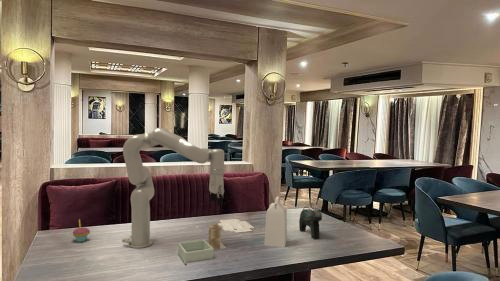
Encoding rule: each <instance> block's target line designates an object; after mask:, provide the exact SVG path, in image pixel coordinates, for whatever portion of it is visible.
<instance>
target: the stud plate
mask: <svg viewBox="0 0 500 281" xmlns="http://www.w3.org/2000/svg"><path fill="white" fill-rule="evenodd" d="M213 249H214V250H221V249H222V250H223V249H227V246H225V245H224V244H223V243H222V242H220V247H216V248H213Z"/></svg>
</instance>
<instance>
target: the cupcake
mask: <svg viewBox="0 0 500 281" xmlns="http://www.w3.org/2000/svg"><path fill="white" fill-rule="evenodd" d="M78 226H79V227H77V228H75V229H73V231H72V236H73V237H74V238H75V241H76V242H79V243H81V242H82V243H83V242H85V241H86V240H87V238H88V235H90V233H91V230H90V229H89V228H87V227H82V224H81V219H78Z"/></svg>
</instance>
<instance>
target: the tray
mask: <svg viewBox="0 0 500 281" xmlns="http://www.w3.org/2000/svg"><path fill="white" fill-rule="evenodd" d="M216 224H218V225H219V226H220V227H221V230H223V232H227V231H229V232H234V233H245V232H253V230H252V229H254V228H255V227H254V226H253V225H252V224H250V223H249V222H248V221H246V220H240V219H238V218H234V219H219V222H218V223H216ZM250 228H251V229H250ZM234 229H237V230H234Z"/></svg>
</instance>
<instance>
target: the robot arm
mask: <svg viewBox="0 0 500 281" xmlns="http://www.w3.org/2000/svg"><path fill="white" fill-rule="evenodd" d="M159 145H160V146H162V147H165V148H167V149H168V150H171V151H173V152H176V153H177V154H179V155H181V156H182V157H185V158H186V159H189V160H191V161H193V162H195V163H198V164H205V163H207V162H209V183H208V185H209V186H208V191H209V192H210V193H209V194H210V197H209V198H210V201H209V202H216V205H217V206H223V205H224V196H225V195H224V193H225V188H224V184H225V183H224V181H225V180H224V174H225V151H224V150H223V149H221V148H214V149H213V148H212V149H211V148H205V147H204V148H200V147H198V146H196V145H194V144H192V143H191V142H189V141H187V140H186V139H185V138H184V137H182V136H180V135H178V134H176V133H173V132H171V131H170V130H168V128H165V127H156V128H154V129H153V130H151V131H148V132H145V133H141V134H134V135H132V136H130V137H128V138H127V139H126V140H125V142H124V144H123V147H122V154H123V159H124V163H125V167H126V174H127V178H128V181H129V183H130V184H132V185H134V186H136V188H134V189H133V191H132V192H131V195H130V206H131V231H130V232H131V235H129V236H128V237H125V238H123V237H122V239H121V242H122V243H125V244H128V246H127V247H130V248H132V249H145V248H149V247H150V246H152V245H153V240H152V239H151V238H150V234H151V231H150V230H151V228H150V227H151V207H150V201H151V200H152V198H153V197H154V196H155V187H154V183H153V178H152V174H151V171H150V169H149V168H148V167H147V166H145V165H143V160H142V158H141V157H142V156H141V154H140V151H141V150H147V149H149V148H153V147H155V146H159Z"/></svg>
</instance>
